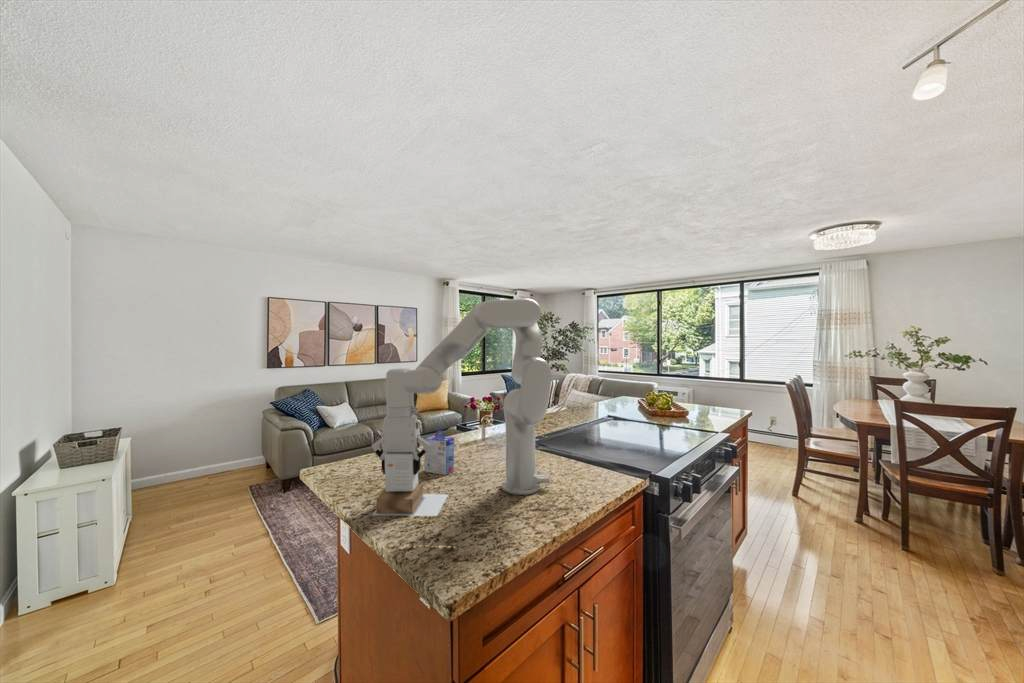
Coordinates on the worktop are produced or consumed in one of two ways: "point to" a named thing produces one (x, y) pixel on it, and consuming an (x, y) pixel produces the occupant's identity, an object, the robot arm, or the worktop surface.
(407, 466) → the small box
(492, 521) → the worktop surface
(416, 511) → the white rectangular board
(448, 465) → the ink cartridge box
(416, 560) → the worktop surface
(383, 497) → the base slab
